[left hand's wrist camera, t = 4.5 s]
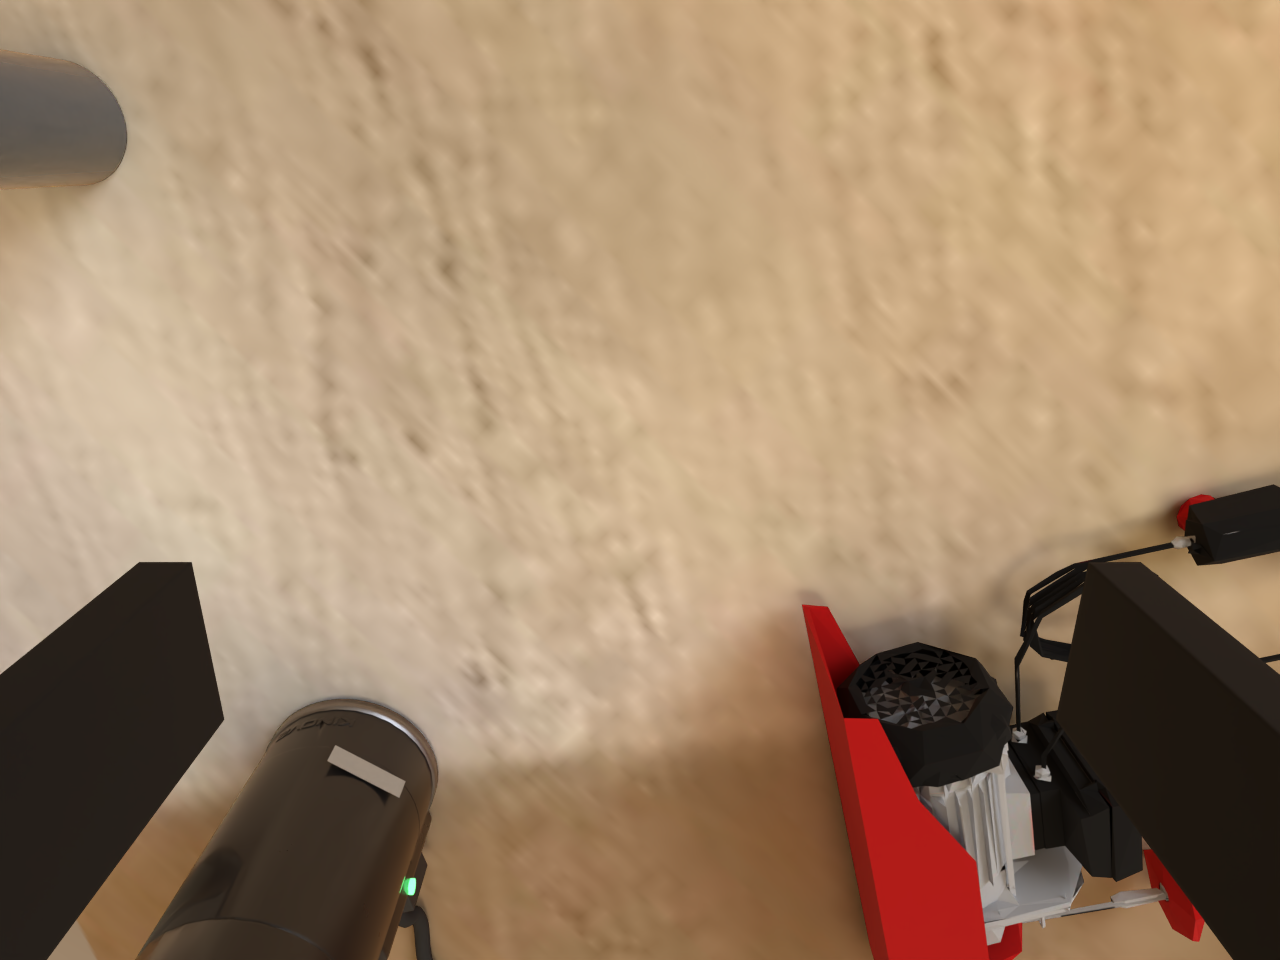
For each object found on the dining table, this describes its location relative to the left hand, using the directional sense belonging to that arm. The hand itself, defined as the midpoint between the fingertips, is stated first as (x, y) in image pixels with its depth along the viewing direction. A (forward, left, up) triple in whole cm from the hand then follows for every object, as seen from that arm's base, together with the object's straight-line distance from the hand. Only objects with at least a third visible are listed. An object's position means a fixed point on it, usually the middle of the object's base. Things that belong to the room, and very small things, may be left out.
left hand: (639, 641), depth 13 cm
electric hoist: (+23, +26, -28) cm, 44 cm away
